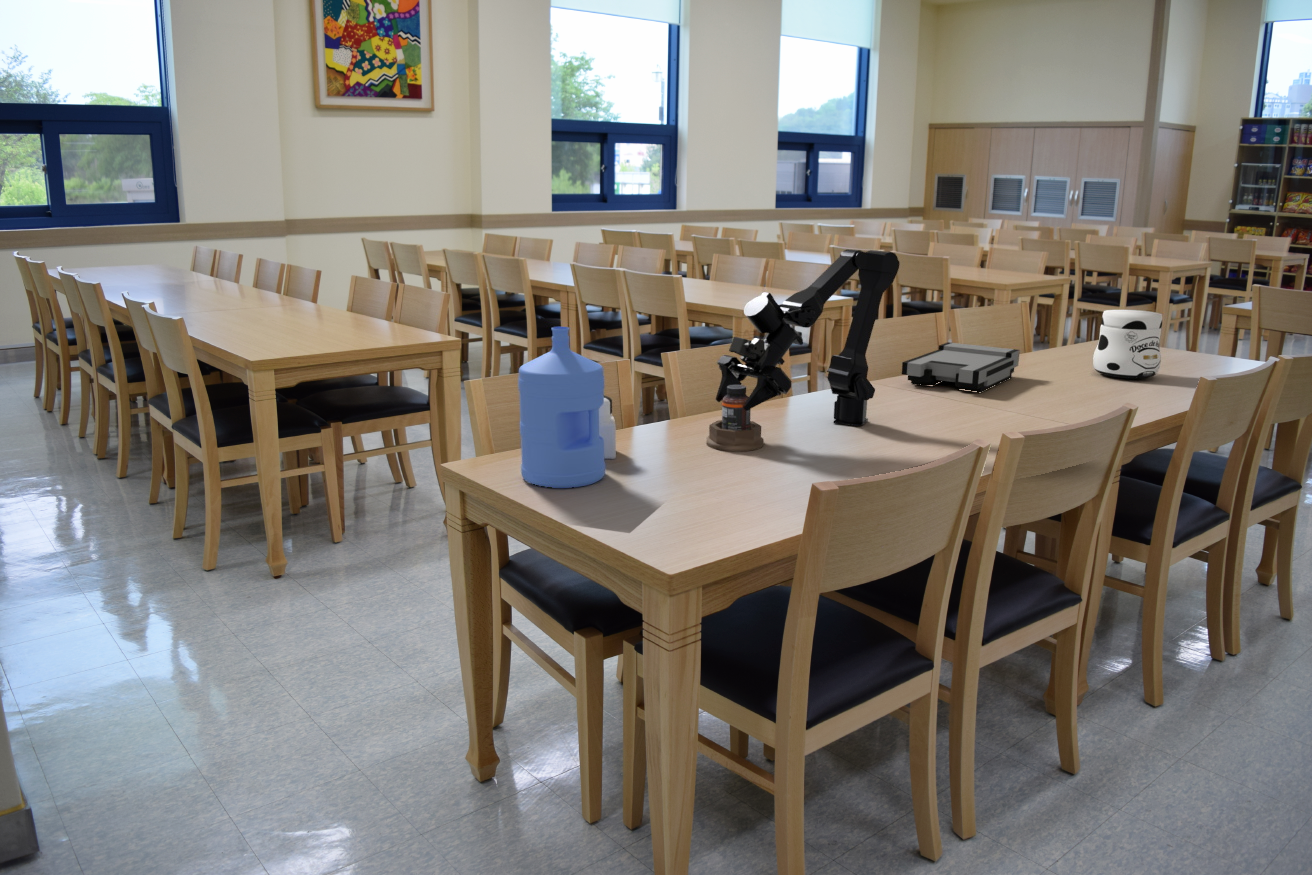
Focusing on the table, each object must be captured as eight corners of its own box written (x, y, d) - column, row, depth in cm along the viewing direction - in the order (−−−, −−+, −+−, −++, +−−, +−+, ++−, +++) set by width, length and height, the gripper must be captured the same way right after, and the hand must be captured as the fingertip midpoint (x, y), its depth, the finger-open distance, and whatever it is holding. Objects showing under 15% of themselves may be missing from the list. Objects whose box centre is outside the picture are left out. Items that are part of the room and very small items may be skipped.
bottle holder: (771, 440, 207) (772, 422, 206) (751, 454, 196) (751, 435, 195) (719, 433, 212) (720, 416, 211) (697, 447, 202) (697, 428, 201)
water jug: (505, 484, 177) (500, 331, 170) (545, 461, 191) (541, 319, 184) (583, 494, 172) (581, 337, 164) (618, 470, 186) (617, 324, 178)
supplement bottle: (748, 435, 207) (749, 383, 204) (751, 442, 201) (753, 389, 198) (720, 435, 207) (721, 383, 204) (723, 442, 201) (724, 389, 198)
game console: (900, 387, 261) (902, 357, 259) (945, 369, 286) (947, 342, 284) (976, 398, 249) (979, 366, 247) (1016, 378, 274) (1019, 349, 272)
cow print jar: (1154, 384, 265) (1163, 319, 260) (1086, 377, 274) (1093, 314, 269) (1161, 374, 279) (1170, 312, 274) (1097, 368, 288) (1104, 307, 283)
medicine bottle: (579, 450, 199) (578, 393, 196) (614, 449, 200) (614, 392, 197) (579, 459, 192) (578, 400, 189) (615, 459, 193) (615, 400, 190)
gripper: (725, 317, 207) (682, 373, 204) (782, 328, 192) (738, 389, 189) (752, 350, 214) (711, 405, 210) (810, 363, 199) (767, 423, 196)
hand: (730, 405), depth 201 cm, fingers open, 9 cm apart
